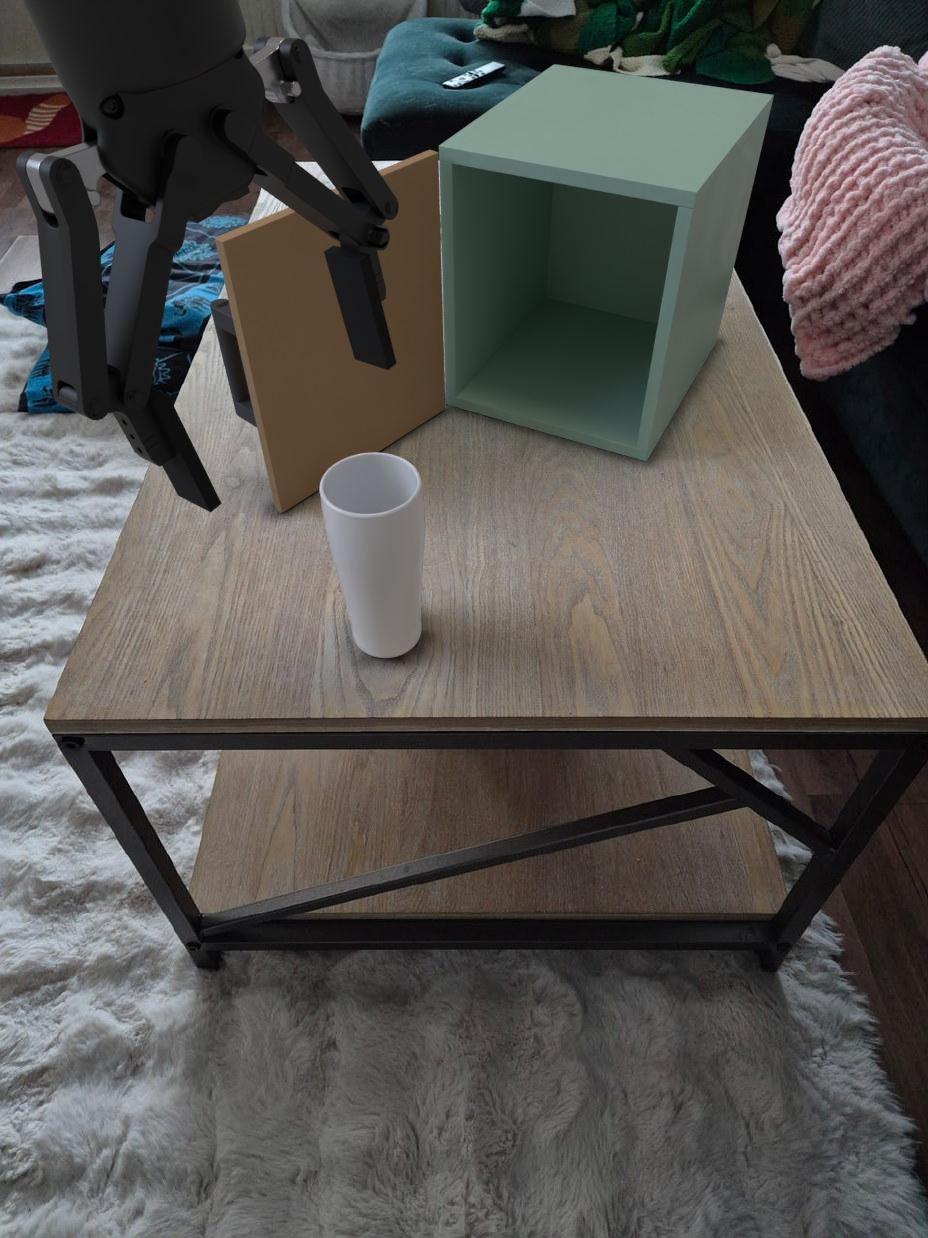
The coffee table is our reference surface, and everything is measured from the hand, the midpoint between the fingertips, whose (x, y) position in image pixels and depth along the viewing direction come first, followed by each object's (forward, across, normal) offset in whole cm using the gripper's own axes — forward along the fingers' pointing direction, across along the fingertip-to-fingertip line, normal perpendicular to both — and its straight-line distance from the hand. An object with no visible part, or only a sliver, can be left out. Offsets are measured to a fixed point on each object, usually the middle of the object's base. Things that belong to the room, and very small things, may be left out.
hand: (293, 426), depth 46 cm
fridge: (+26, -44, -11) cm, 52 cm away
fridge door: (+22, -19, -22) cm, 36 cm away
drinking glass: (+23, -3, -3) cm, 23 cm away
